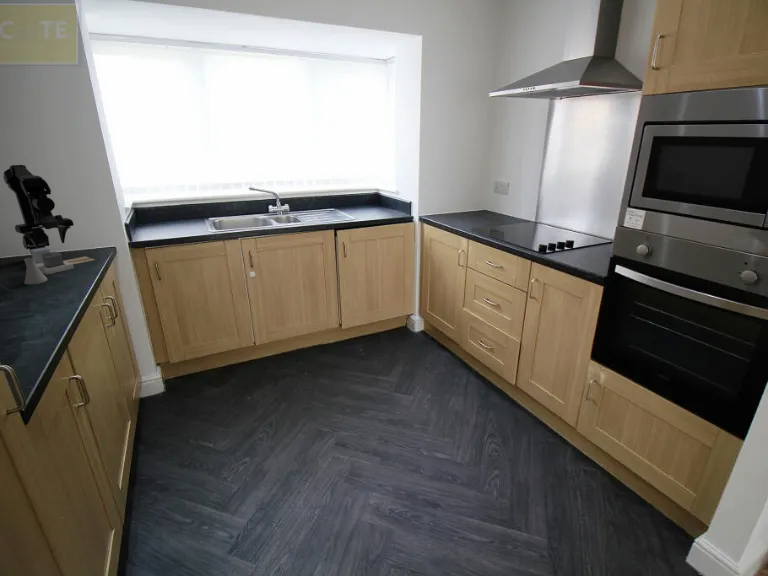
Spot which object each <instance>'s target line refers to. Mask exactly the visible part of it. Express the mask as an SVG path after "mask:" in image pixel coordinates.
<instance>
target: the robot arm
mask: <svg viewBox="0 0 768 576" xmlns="http://www.w3.org/2000/svg"><path fill="white" fill-rule="evenodd" d="M3 181H4V182H5V184H6V185H7V187H8V189H9V190H11V191H12V192H13V193H14V194H15V197H16V201H17V204H18V207H19V211H20V213H21V216H22V220H23V223H21V224H16V225H15V226H14V230H15V232H16V233H19V234H22V235H23V236H22V245H23V248H24V249H25V250H29V252H30V255H31V258H33V257H32V254H31V251H30V250H33V249H38V248H46V247H49V246H50V238H49V235H47V233H46V232H45V230H51V229H57V231H58V235H59V238H60V241H61V243H62V244H65V239H66V234H67V232H68V230H69V229H71V228H72V227H73V226H74V221H73V220H72V219H71V218H68V217H64V218H63V216H62V215H61V214H57V215H54V214H53V213H52V211H53V210H54V209H55V206H56V203H55V201H54V200H53V199H52V198H51V197H48V195H52V189H51V188H50V186H49V184H48V182H47V181H46V180H45V179H44V178H43V177H42V176H39V175H34V174H33V173H31V171H30V170H28V169H27V166H26V165H23V164H11V165H9V168H8V169H6V170H5V171H3ZM44 229H45V230H44Z"/></svg>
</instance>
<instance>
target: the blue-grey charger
mask: <svg viewBox="0 0 768 576" xmlns="http://www.w3.org/2000/svg"><path fill="white" fill-rule="evenodd" d="M30 251H31V252H30ZM29 252H30V255H31V254H32V256H31V258H32V257H33V258H35V262H36V263H43V258H42V255H41V254H44V253H49V252H51V251H50V248H47V247H45V248H38V249H33V250H30V249H29Z"/></svg>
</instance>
